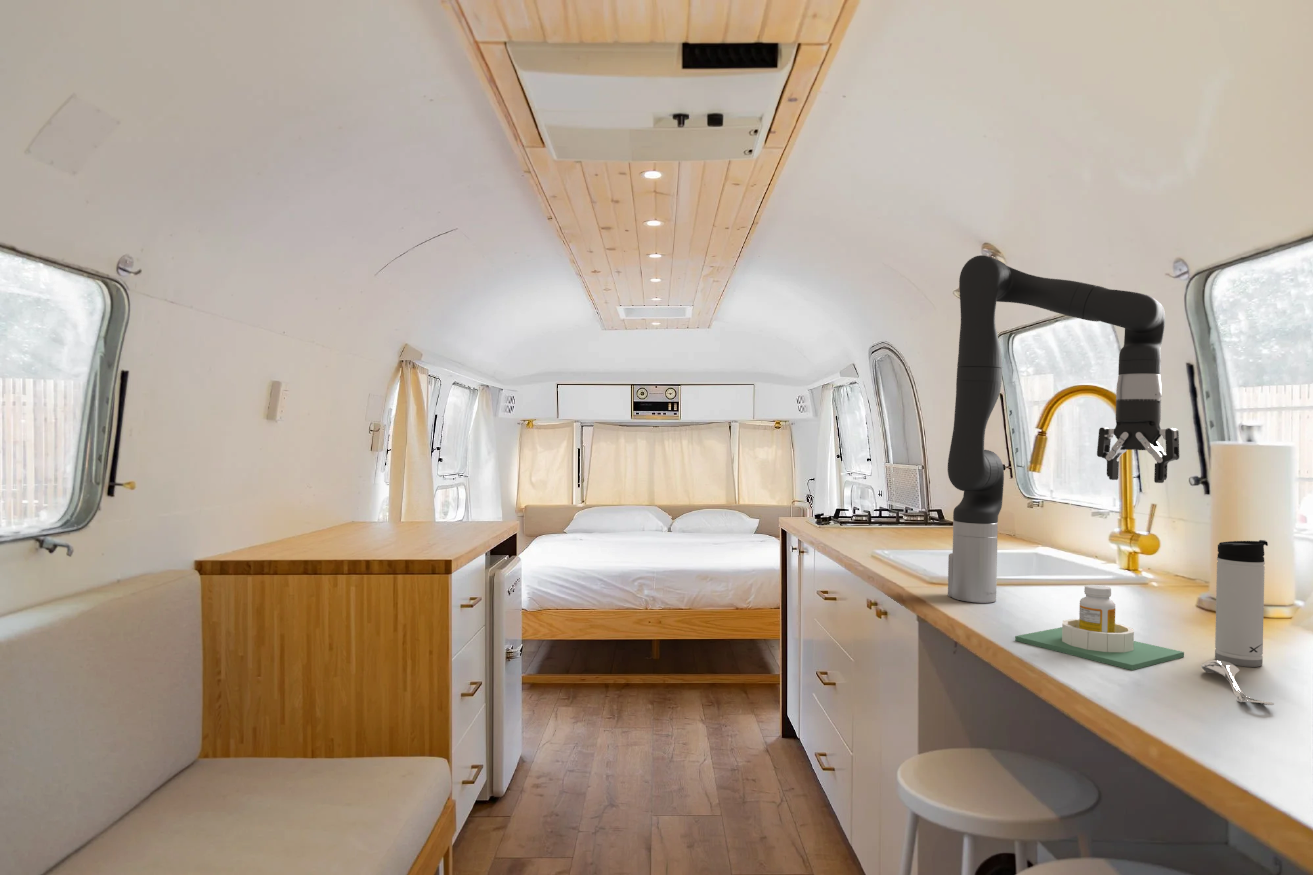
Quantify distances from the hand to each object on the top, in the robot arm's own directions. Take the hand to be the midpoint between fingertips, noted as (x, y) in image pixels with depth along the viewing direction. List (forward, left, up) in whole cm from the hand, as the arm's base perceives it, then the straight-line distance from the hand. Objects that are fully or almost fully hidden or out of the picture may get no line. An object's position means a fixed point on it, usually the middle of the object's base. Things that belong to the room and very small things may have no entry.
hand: (1135, 481), depth 155 cm
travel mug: (+23, -12, -28) cm, 38 cm away
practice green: (+7, -25, -28) cm, 38 cm away
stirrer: (+30, -30, -29) cm, 51 cm away
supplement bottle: (+7, -25, -27) cm, 38 cm away
